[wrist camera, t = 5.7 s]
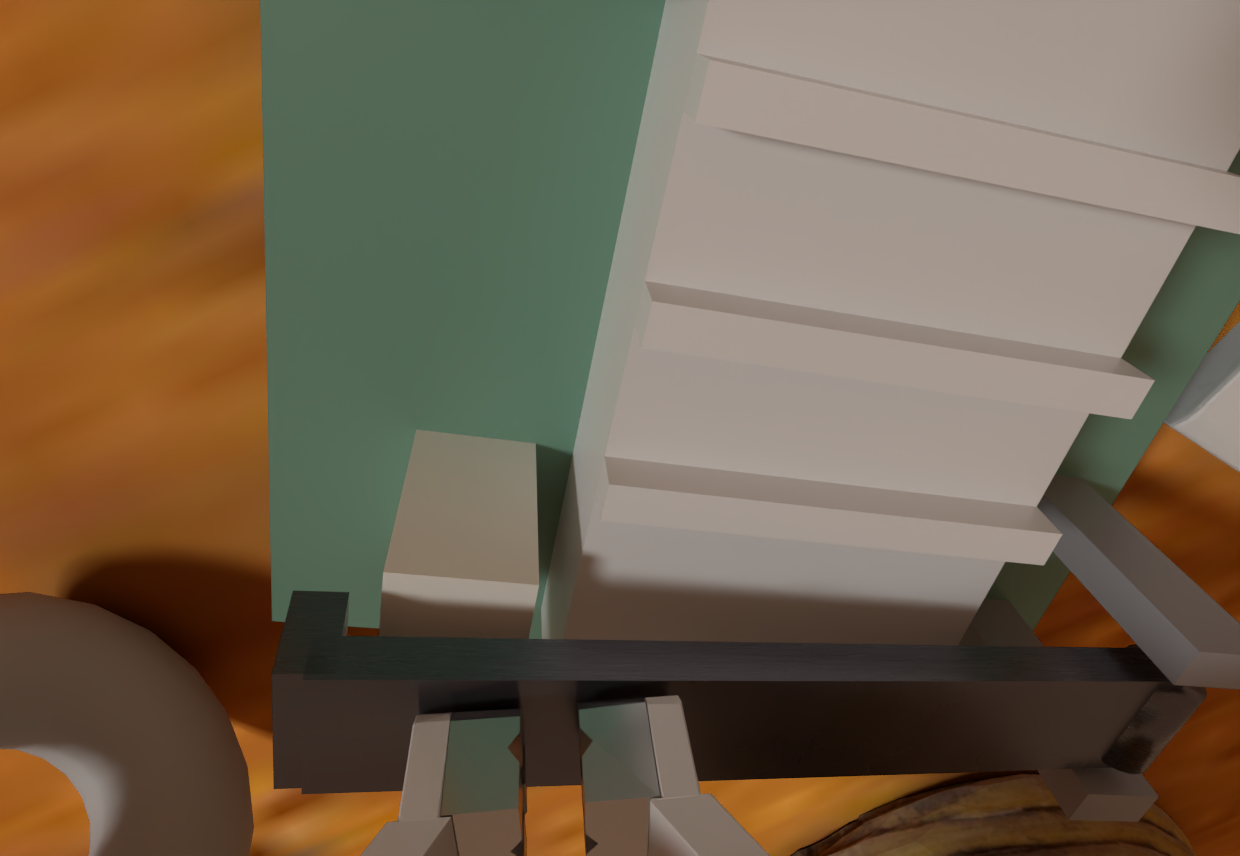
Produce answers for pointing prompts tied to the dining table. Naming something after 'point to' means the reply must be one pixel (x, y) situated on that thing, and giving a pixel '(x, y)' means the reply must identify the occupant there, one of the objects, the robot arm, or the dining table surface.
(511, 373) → the board
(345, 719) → the dark grey long bar
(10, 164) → the dining table surface
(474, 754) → the robot arm
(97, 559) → the dining table surface
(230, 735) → the donut
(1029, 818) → the tankard
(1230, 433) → the external hard drive
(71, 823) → the dining table surface
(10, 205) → the dining table surface
